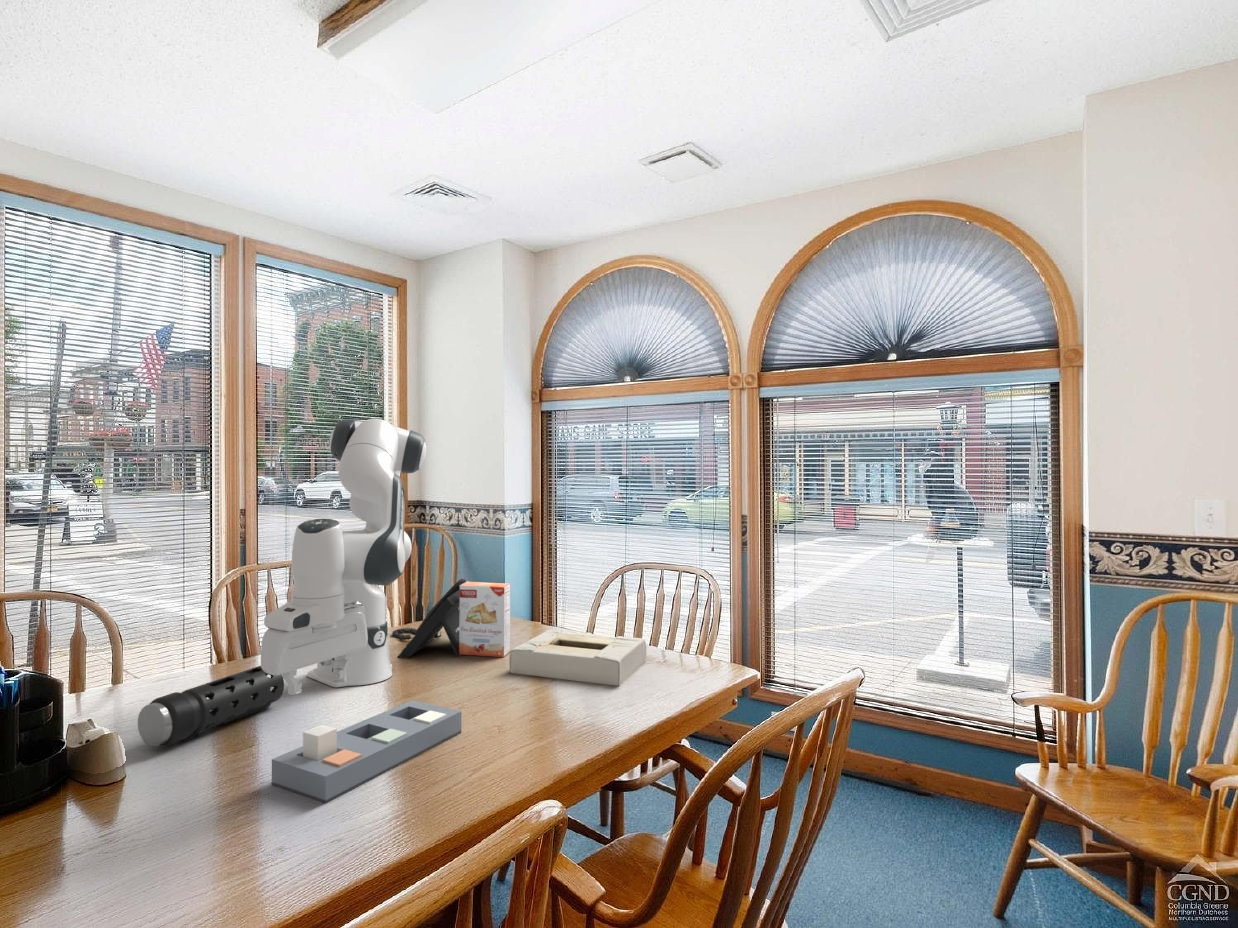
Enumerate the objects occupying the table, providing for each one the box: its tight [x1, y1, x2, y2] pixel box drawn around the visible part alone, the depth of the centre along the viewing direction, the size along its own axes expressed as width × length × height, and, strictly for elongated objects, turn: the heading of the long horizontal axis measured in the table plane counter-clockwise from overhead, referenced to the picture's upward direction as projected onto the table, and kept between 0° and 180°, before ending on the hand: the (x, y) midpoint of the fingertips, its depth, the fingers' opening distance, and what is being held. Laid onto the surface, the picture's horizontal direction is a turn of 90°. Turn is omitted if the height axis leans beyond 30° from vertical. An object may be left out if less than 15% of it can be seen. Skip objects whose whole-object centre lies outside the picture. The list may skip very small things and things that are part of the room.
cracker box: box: [458, 581, 511, 658], centre depth 204 cm, size 14×6×21 cm, turn 80°
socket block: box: [271, 699, 462, 804], centre depth 134 cm, size 14×34×5 cm, turn 152°
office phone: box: [391, 578, 467, 659], centre depth 214 cm, size 29×28×20 cm
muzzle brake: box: [137, 665, 285, 748], centre depth 148 cm, size 10×28×10 cm, turn 159°
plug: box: [302, 724, 338, 761], centre depth 125 cm, size 4×4×8 cm
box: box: [508, 629, 647, 687], centre depth 192 cm, size 23×8×32 cm
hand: (317, 685), depth 125 cm, fingers open, 8 cm apart
